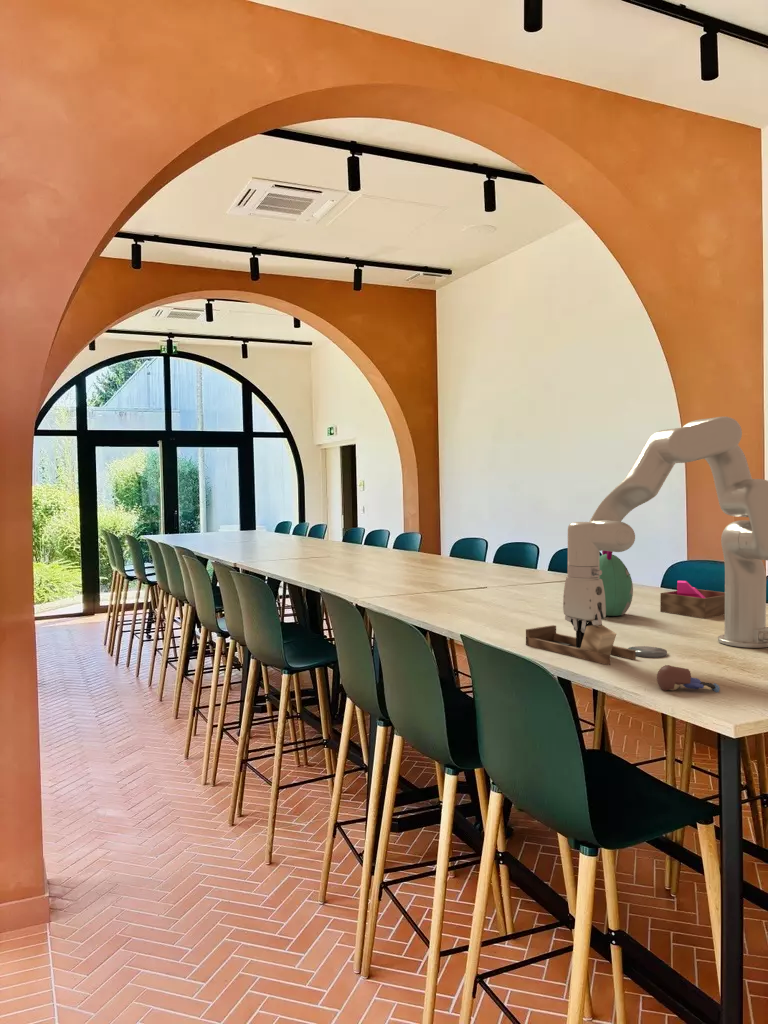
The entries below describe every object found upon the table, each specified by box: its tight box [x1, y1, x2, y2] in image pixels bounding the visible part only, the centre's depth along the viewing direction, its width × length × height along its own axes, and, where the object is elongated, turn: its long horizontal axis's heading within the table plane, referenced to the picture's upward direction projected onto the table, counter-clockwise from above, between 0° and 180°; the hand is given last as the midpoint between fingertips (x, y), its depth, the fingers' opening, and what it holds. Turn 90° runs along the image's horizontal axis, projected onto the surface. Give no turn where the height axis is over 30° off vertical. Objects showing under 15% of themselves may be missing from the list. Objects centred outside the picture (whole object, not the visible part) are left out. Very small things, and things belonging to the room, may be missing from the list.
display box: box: [659, 588, 725, 619], centre depth 237 cm, size 15×17×6 cm
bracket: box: [676, 580, 705, 598], centre depth 238 cm, size 12×10×10 cm
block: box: [580, 624, 617, 656], centre depth 176 cm, size 5×5×6 cm
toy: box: [599, 551, 634, 617], centre depth 233 cm, size 15×17×30 cm
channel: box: [525, 624, 637, 666], centre depth 182 cm, size 26×10×4 cm, turn 34°
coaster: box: [627, 645, 668, 659], centre depth 179 cm, size 9×9×1 cm
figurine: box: [656, 664, 721, 693], centre depth 147 cm, size 5×5×12 cm
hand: (583, 647), depth 180 cm, fingers closed
